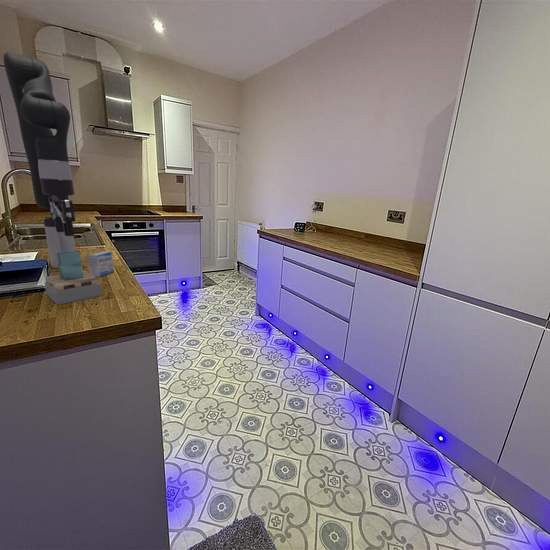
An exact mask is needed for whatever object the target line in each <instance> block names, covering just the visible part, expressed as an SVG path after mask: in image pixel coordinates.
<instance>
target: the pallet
mask: <svg viewBox="0 0 550 550" xmlns="http://www.w3.org/2000/svg"><path fill="white" fill-rule="evenodd" d="M82 272H83V278H77V279H71V280H63V279H62V278H61V277H60V275H59V274H56V275H50V276H49V275H48V276H45V280H46V282H48V283H49V284H50V285H51V286H52V287H53V288H54V289H56V290H57V291H61V290H64V287H63V286H66V285H72V286H73V287H75V288H78V287H81V283H83V282H88V283H90V284H91V285H94V284H97V282H98V277H96V276H94V275H92V274H90V272H88V271H86V270H82Z"/></svg>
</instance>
